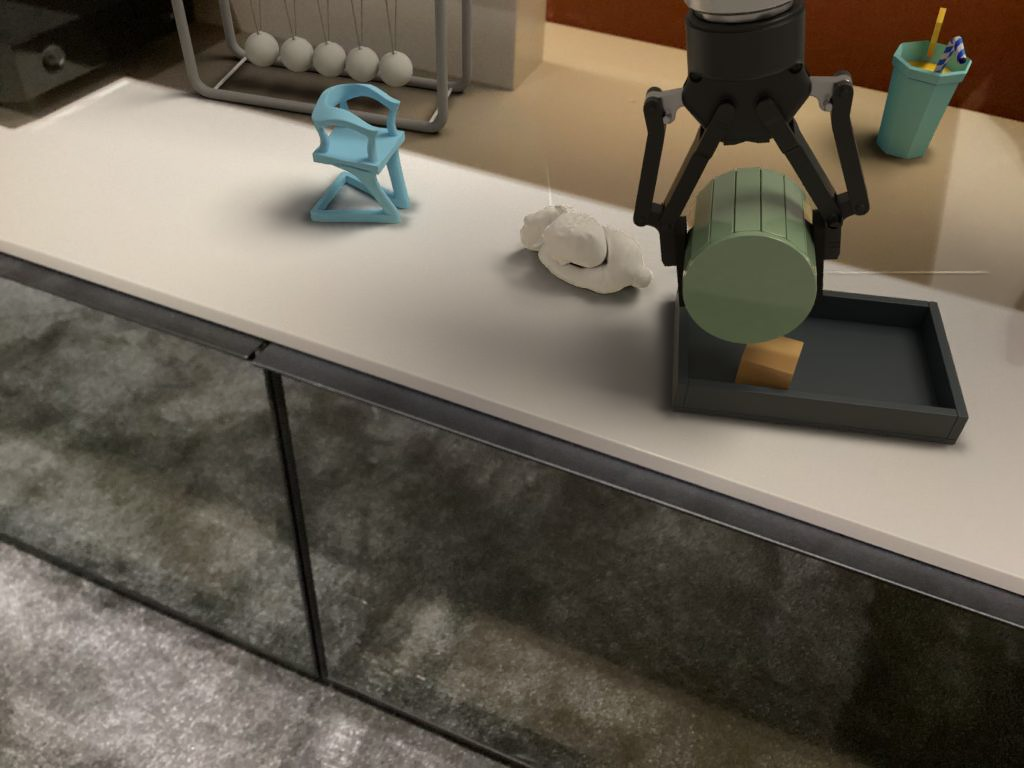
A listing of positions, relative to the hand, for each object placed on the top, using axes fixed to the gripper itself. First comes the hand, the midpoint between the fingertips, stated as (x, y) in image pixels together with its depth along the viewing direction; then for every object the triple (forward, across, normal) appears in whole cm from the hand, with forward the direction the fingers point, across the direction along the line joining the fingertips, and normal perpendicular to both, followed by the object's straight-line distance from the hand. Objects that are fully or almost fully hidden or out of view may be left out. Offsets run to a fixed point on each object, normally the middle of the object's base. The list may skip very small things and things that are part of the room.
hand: (749, 294), depth 75 cm
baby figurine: (+3, -15, +10) cm, 18 cm away
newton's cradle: (-5, -46, +35) cm, 58 cm away
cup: (+8, +16, +37) cm, 41 cm away
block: (+5, +1, -5) cm, 7 cm away
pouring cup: (-4, 0, -6) cm, 7 cm away
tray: (+8, +4, +1) cm, 9 cm away
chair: (-2, -36, +14) cm, 39 cm away
